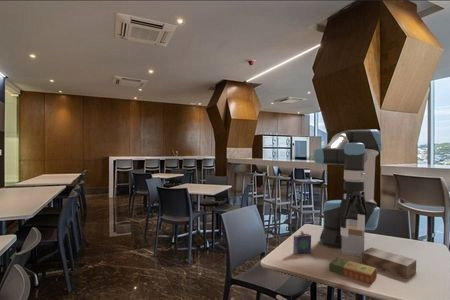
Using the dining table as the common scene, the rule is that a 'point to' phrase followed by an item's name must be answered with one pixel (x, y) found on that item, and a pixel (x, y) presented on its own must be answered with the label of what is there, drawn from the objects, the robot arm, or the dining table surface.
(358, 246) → the board
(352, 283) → the dining table surface
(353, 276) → the carton
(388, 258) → the walnut block
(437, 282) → the dining table surface
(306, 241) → the flask
